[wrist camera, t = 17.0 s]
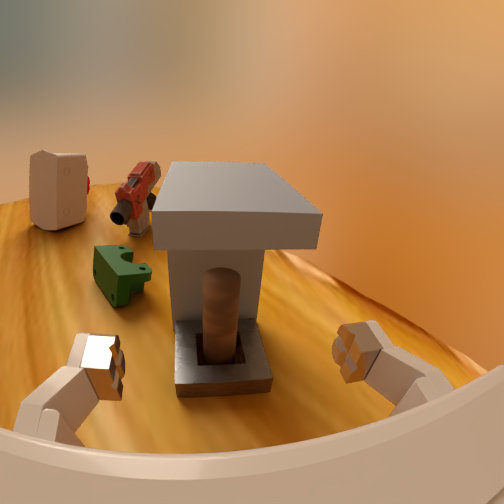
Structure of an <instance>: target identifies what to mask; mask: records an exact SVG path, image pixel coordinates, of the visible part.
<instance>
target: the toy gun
mask: <svg viewBox="0 0 504 504" xmlns="http://www.w3.org/2000/svg"><path fill="white" fill-rule="evenodd" d="M160 177H161V171H160V166H159V165H158V163H157V162H153V161H151V162H150V161H145V162H139V163H138V164H137V166H136V167H135V168H134V169H133V170H132V172H131V173H130V174H129V175H128V182H123V183H122V184H121V185H120V186H119V188H118V189H117V190H116V192H115V195H116V199H117V202H118V204H117V205H116V207H115V208H114V210H113V211H112V212H111V214H110V218H111V220H112V221H113V222H114V223H115V224H117V225H123V224H125V225H126V224H127V227H129V231H130V233H129V236H136V237H141V236H142V235H143V234H144V233H145V232H146V231H147V230H148V229H149V228H150V227H151V225H149V212H152V209H153V206H154V204H155V201H156V199H157V198H156V196H155V195H154V194H153V193H151V190H152V189H153V187H154V186H155V184H156V183H157V181H158V180H159V178H160ZM148 211H149V212H148Z"/></svg>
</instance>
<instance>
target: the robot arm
mask: <svg viewBox="0 0 504 504" xmlns="http://www.w3.org/2000/svg"><path fill="white" fill-rule="evenodd" d="M337 333H338V335H339V336H338V337H337V338H336V339H335V340H334V342H333V345H332V355H333V359H334V361H335V363H336V364H338V365H340V366H341V369H340V373H341V375H342V377H343V379H344V381H345V382H346V384H347V383H352V382H358V381H362V380H364V381H365V382H366V383H367V384H368V385H370V386H371V387H372V388H374V389H375V390H376V391H377V392H379V393H380V394H381V395H383V396H384V397H385V398H386V399H388V400H389V401H390V402H392V403H393V404H394V405H396V407H395V408H394V410H393V411H392V412H391V414H390V417H388V418H385V419H382V420H379V421H376V422H373V423H370V424H367V425H364V426H360V427H357V428H354V429H350V430H346V431H343V432H339V433H335V434H331V435H327V436H323V437H319V438H314V439H309V440H305V441H300V442H294V443H289V444H283V445H277V446H271V447H264V448H257V449H248V450H239V451H229V452H216V453H196V454H151V453H132V452H120V451H109V450H101V449H93V448H86V447H85V446H84V445H83V443H82V442H81V441H80V440H79V438H78V437H77V436H76V435H75V432H76V431H77V429H78V428H79V427H80V425H81V424H82V423H83V422H84V420H85V419H86V418H87V416H88V415H89V414H90V413H91V411H92V410H93V409H94V407H95V406H96V405H97V404H98V402H99V400H110V401H121V400H122V391H123V384H122V382H121V379H122V378H123V377H124V374H125V359H124V354H123V351H122V350H121V349H119V348H120V340H119V336H118V335H110V334H96V333H81V332H79V333H78V334H77V335H76V337H75V340H74V343H73V346H72V349H71V352H70V355H69V358H68V361H67V365H66V366H62V367H61V368H60V369H58V370H57V371H56V372H55V373H54V374H53V375H51V376H50V377H49V378H48V379H47V380H46V381H44V382H43V383H42V384H41V385H40V386H39V387H38V388H36V389H35V390H34V391H33V392H32V393H31V394H30V395H28V396H27V397H26V398H25V399H24V400H23V401H22V402H21V404H20V408H19V411H18V415H17V418H16V422H15V426H14V429H13V431H10V430H7V429H4V428H1V427H0V504H504V364H502V365H499V366H497V367H496V368H494V369H492V370H491V371H489V372H487V373H486V374H484V375H482V376H480V377H478V378H477V379H475V380H473V381H471V382H469V383H467V384H465V385H463V386H461V387H459V388H457V389H454V388H453V386H452V385H451V384H450V382H449V381H448V379H447V378H446V377H445V375H444V374H443V372H442V371H441V370H440V369H439V368H437V367H435V366H433V365H431V364H429V363H428V362H426V361H424V360H422V359H420V358H418V357H417V356H415V355H413V354H411V353H409V352H407V351H406V350H404V349H402V348H400V347H398V346H394V345H393V344H392V342H391V341H390V339H389V338H388V337H387V335H386V334H385V332H384V331H383V330H382V328H381V327H380V326H379V324H378V323H377V322H376V321H375V320H371V321H365V322H358V323H351V324H344V325H341V326H340V327H339V329H338V331H337Z"/></svg>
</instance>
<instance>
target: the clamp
mask: <svg viewBox="0 0 504 504" xmlns="http://www.w3.org/2000/svg"><path fill="white" fill-rule="evenodd" d="M132 260H133V251H132V250H131V249H130V248H129V247H127V246H123V245H107V246H94V259H93V276H94V279H95V281H96V283H97V284H98V286H99V287H100V289H101V290H102V292H103V293H104V295H105V296H106V297H107V299H108V300H109V302H110V303H111V305H112V306H113V307H117V306H124V305H128V303H129V295H130V293H132V292H140V291H143V290H144V282H147V281H150V280H151V274H152V269H151V268H150V267H149V266H148V265H147V264H146V263H142V264H135V263H132Z"/></svg>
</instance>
